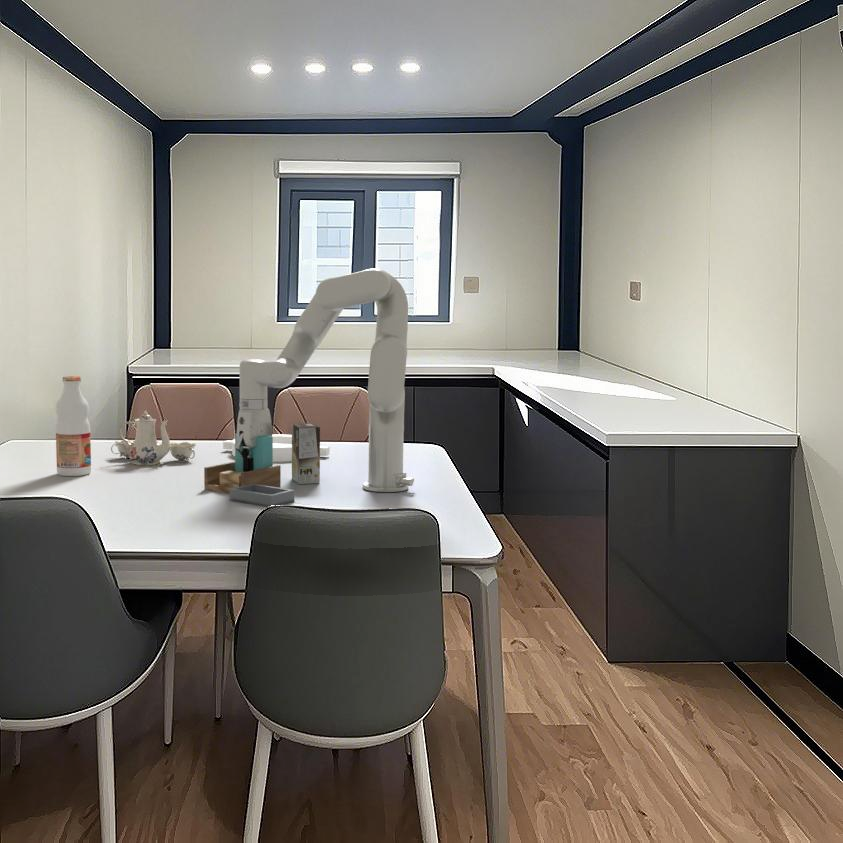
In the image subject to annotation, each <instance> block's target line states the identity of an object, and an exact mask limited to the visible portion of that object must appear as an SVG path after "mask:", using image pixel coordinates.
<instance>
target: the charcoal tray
mask: <svg viewBox="0 0 843 843" xmlns="http://www.w3.org/2000/svg"><path fill="white" fill-rule="evenodd" d="M295 492H296V491H295V489H290V488H284V487H271V486H265V485H258V484H249V485H245V486H241V487H236V488H232V489H230V494H229V502H230V501H231V502H237V503H241V504H247V505H248V504H249V505H254V506H261V507H266V508H269V507H268V506H271V505H280V506H282V505H281V504H283V505H287V504H291V503H294V502H295Z"/></svg>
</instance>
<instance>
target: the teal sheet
mask: <svg viewBox="0 0 843 843" xmlns="http://www.w3.org/2000/svg"><path fill="white" fill-rule="evenodd" d="M234 439H235V446H236V444H237V433H236V434H235V435H234ZM246 450H247V452H248V449H247V448H246ZM251 458H253V470H257V469H262V468H266V467H271V466H274V462H273V436H261V437H257V446H256V447H254V448H253V450H252V457H251ZM234 459H235V460H234V462H235V471H236V472H242V473H243V472H244V471H243V458H242V457H241V454H240V453H239V452H238V451H237V450H236V449H235V457H234Z"/></svg>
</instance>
